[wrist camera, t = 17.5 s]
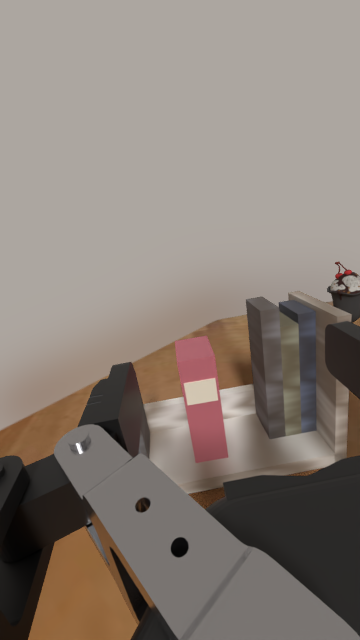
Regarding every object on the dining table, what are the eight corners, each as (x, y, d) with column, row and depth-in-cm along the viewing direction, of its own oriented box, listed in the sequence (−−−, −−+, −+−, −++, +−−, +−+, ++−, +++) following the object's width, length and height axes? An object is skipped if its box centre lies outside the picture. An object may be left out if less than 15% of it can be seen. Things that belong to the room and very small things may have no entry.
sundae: (319, 341, 54) (318, 263, 49) (340, 330, 57) (341, 256, 52) (354, 351, 48) (357, 264, 43) (375, 338, 51) (381, 256, 46)
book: (219, 425, 34) (206, 335, 30) (228, 458, 29) (214, 356, 26) (191, 430, 34) (174, 341, 30) (195, 464, 29) (177, 362, 26)
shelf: (301, 408, 37) (298, 286, 32) (346, 463, 28) (351, 308, 23) (107, 444, 36) (71, 327, 31) (91, 512, 28) (37, 365, 23)
